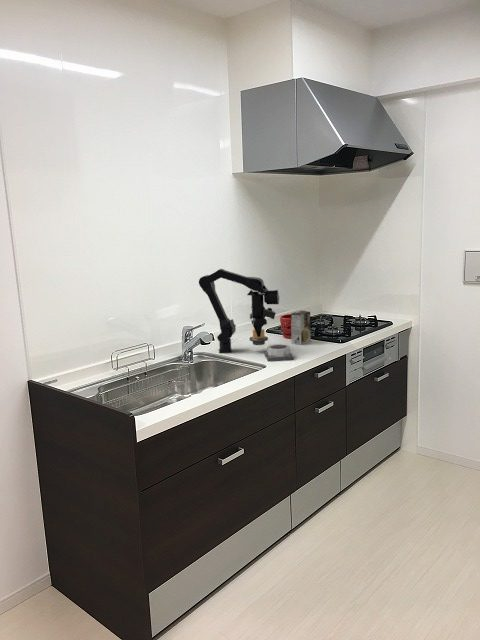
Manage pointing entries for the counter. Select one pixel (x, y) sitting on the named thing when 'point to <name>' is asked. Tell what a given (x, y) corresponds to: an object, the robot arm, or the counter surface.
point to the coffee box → (300, 327)
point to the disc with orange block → (258, 338)
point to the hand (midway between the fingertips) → (258, 336)
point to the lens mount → (278, 353)
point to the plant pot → (287, 327)
